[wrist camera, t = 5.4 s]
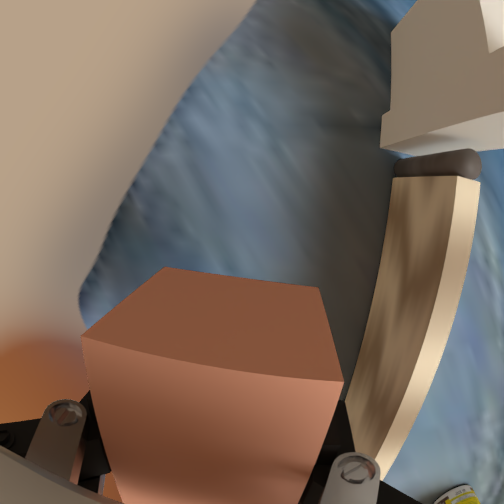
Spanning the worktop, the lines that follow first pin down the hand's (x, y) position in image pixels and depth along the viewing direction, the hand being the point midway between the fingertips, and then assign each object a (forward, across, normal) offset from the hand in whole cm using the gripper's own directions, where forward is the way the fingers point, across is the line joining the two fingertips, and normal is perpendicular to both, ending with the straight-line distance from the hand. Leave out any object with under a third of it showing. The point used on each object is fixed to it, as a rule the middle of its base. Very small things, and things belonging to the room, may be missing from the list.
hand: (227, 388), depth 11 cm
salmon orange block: (+1, 0, 0) cm, 1 cm away
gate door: (+8, -8, +2) cm, 12 cm away
